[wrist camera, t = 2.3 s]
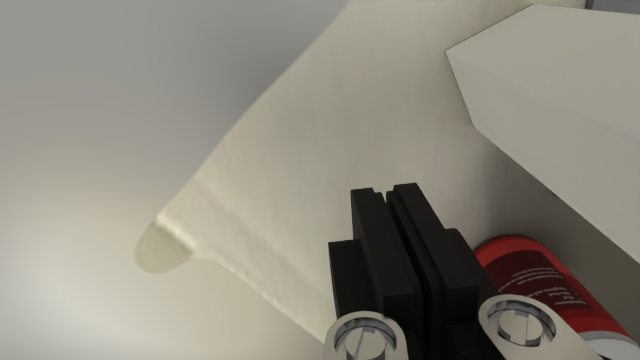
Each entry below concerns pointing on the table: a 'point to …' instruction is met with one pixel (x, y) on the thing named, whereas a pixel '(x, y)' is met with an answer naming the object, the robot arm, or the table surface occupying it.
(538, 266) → the canned food
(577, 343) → the robot arm
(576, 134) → the milk
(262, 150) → the table surface
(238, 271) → the table surface
